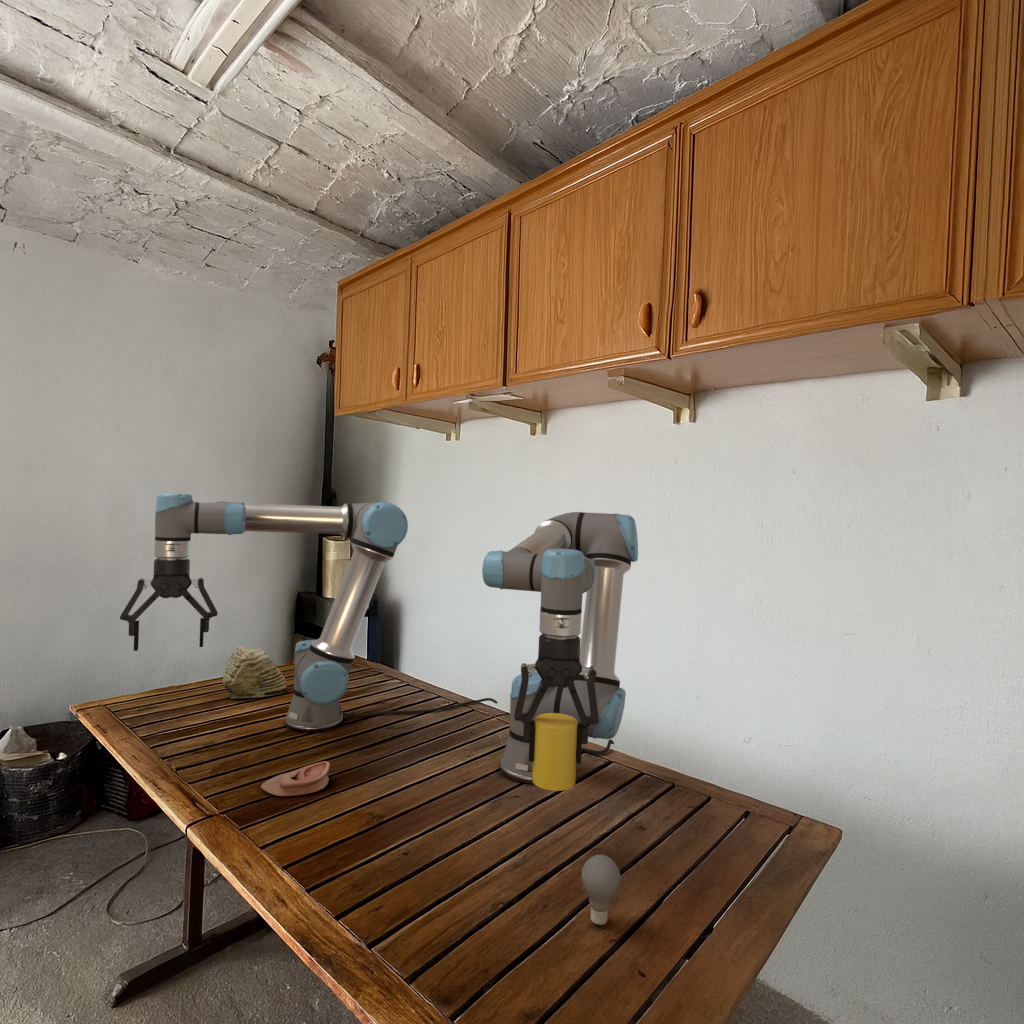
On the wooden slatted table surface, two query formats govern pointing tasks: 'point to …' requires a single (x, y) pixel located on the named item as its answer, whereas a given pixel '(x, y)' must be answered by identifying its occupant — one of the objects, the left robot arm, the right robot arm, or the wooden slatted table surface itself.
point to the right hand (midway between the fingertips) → (554, 759)
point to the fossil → (252, 674)
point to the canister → (555, 751)
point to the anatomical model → (299, 780)
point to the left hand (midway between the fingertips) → (169, 647)
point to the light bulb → (600, 885)
